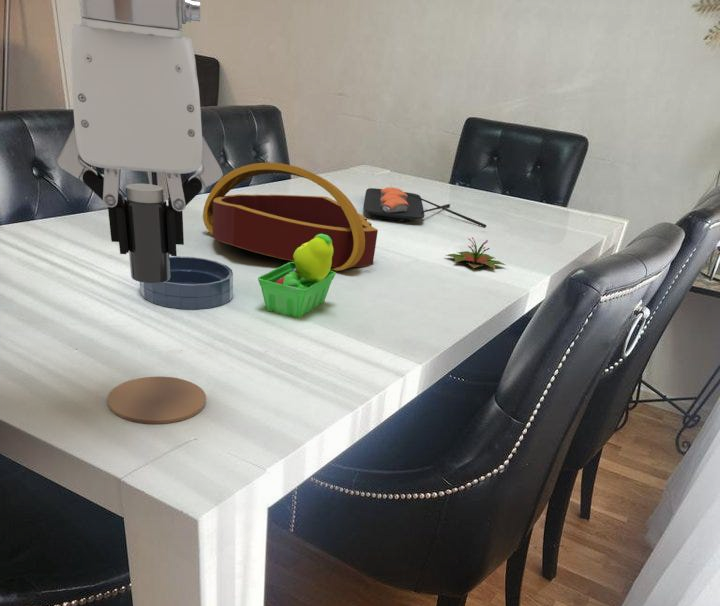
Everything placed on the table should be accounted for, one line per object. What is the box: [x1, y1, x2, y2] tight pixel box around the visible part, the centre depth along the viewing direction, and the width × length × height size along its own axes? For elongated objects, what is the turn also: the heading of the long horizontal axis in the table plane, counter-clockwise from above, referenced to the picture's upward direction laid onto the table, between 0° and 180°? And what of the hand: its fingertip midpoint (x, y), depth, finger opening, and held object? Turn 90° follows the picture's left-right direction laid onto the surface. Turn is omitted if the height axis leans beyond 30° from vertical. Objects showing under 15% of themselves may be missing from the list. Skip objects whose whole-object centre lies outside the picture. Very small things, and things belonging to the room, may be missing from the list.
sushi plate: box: [363, 186, 487, 228], centre depth 160 cm, size 29×30×4 cm
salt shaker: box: [123, 183, 170, 283], centre depth 59 cm, size 4×4×8 cm
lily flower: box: [446, 236, 507, 270], centre depth 127 cm, size 12×12×5 cm
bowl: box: [139, 255, 234, 310], centre depth 94 cm, size 13×13×4 cm
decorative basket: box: [202, 162, 379, 272], centre depth 116 cm, size 34×29×15 cm
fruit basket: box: [257, 234, 337, 319], centre depth 93 cm, size 11×9×11 cm
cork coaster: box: [107, 375, 207, 425], centre depth 69 cm, size 10×10×1 cm
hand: (148, 249), depth 60 cm, fingers closed on salt shaker, 3 cm apart
